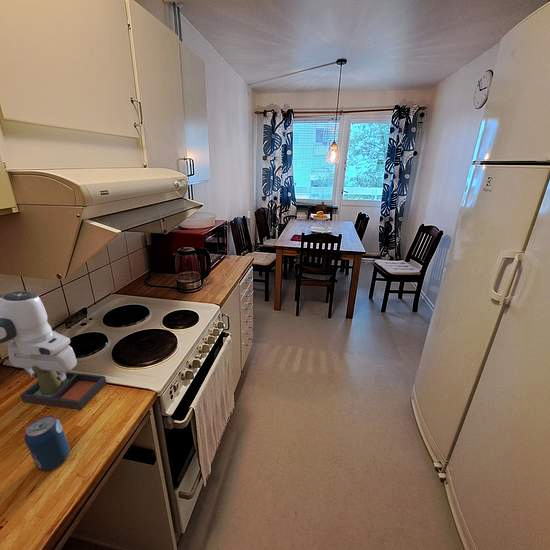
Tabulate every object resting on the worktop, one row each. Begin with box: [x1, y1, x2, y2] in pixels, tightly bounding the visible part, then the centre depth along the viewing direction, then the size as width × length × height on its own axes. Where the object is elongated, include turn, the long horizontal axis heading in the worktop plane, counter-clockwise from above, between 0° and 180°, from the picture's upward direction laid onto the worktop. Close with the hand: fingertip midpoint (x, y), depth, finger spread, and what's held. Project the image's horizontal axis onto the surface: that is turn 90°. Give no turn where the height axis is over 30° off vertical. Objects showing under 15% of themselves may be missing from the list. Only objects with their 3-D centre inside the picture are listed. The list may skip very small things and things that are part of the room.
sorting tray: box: [19, 371, 108, 411], centre depth 92 cm, size 20×12×3 cm, turn 82°
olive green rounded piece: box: [32, 366, 63, 395], centre depth 91 cm, size 6×6×11 cm
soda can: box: [23, 414, 71, 472], centre depth 70 cm, size 7×7×12 cm
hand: (49, 377), depth 91 cm, fingers open, 8 cm apart
